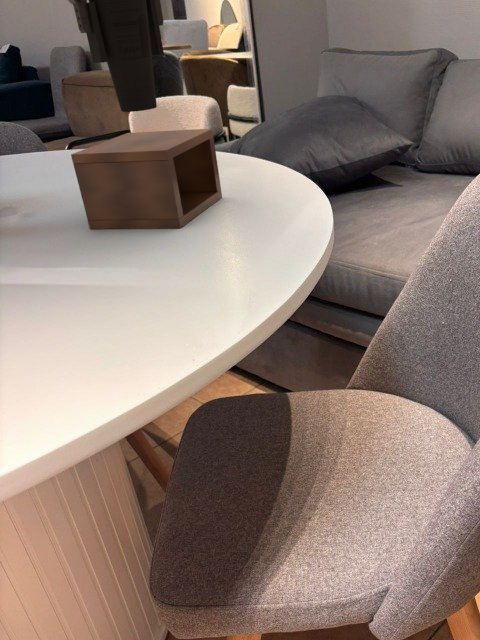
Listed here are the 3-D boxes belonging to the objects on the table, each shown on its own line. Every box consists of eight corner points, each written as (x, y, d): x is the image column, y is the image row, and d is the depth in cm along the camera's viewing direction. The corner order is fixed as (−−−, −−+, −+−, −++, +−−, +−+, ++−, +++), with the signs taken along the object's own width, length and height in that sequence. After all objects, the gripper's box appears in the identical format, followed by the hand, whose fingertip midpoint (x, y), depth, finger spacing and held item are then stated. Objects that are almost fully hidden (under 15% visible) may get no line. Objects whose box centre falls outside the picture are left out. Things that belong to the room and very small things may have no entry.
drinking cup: (163, 103, 91) (132, -69, 81) (171, 108, 85) (138, -78, 75) (109, 110, 89) (70, -65, 79) (112, 115, 83) (71, -74, 73)
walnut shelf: (89, 228, 90) (70, 154, 85) (141, 199, 103) (127, 132, 98) (180, 228, 86) (166, 150, 81) (222, 197, 99) (212, 128, 94)
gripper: (4, -186, 64) (66, 68, 76) (178, -171, 75) (209, 49, 87) (-19, -167, 69) (43, 68, 81) (148, -156, 80) (181, 51, 92)
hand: (129, 58), depth 84 cm, fingers closed on drinking cup, 8 cm apart
